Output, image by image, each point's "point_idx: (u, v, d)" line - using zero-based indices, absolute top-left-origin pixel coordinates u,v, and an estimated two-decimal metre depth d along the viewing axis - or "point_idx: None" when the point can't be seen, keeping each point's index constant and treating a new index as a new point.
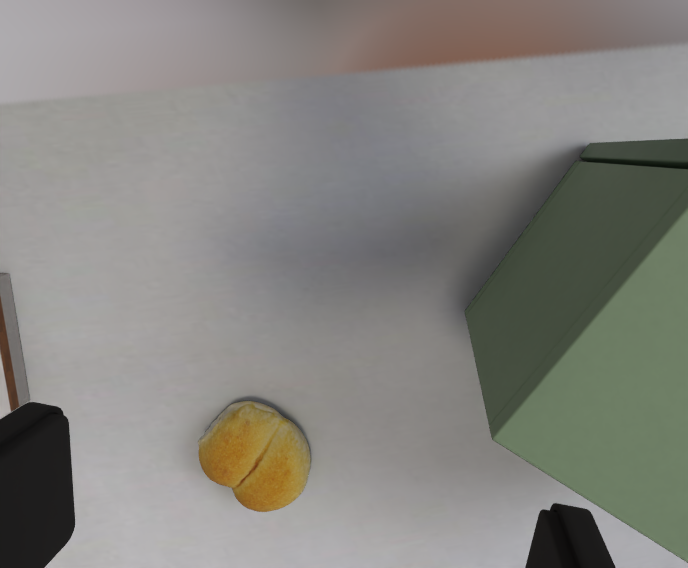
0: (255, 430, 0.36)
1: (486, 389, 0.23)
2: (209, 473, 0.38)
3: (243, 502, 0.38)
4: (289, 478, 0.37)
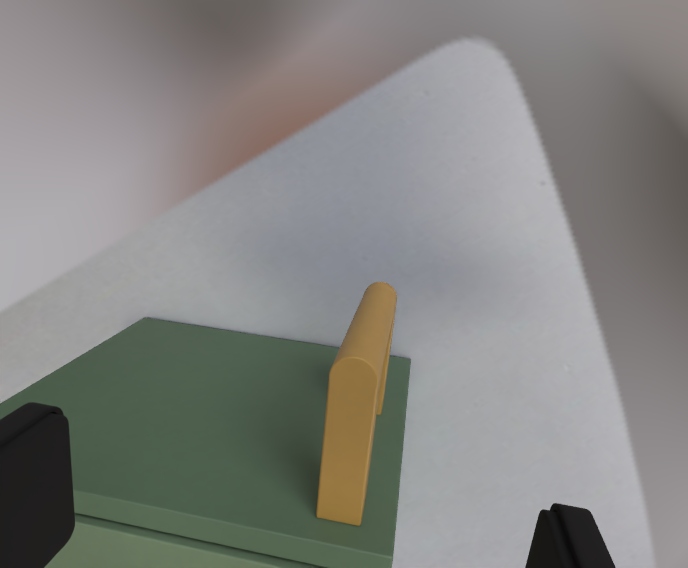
0: None
1: None
2: None
3: None
4: None
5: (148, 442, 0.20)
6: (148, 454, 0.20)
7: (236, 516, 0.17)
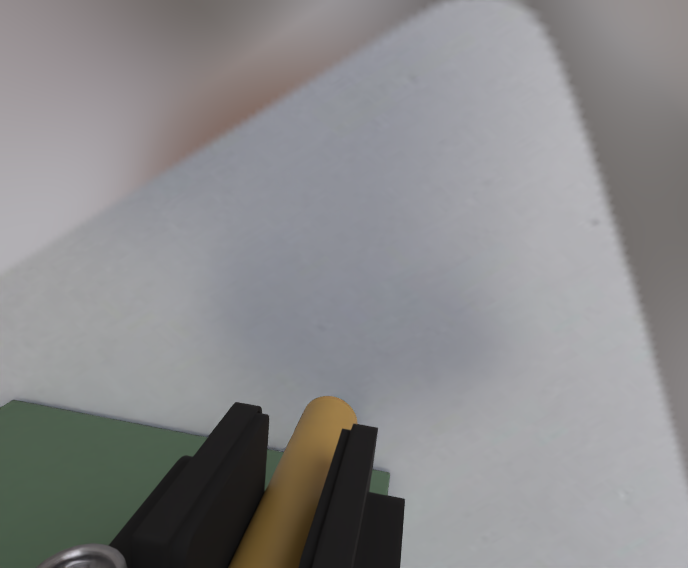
0: None
1: None
2: None
3: None
4: None
5: None
6: None
7: None
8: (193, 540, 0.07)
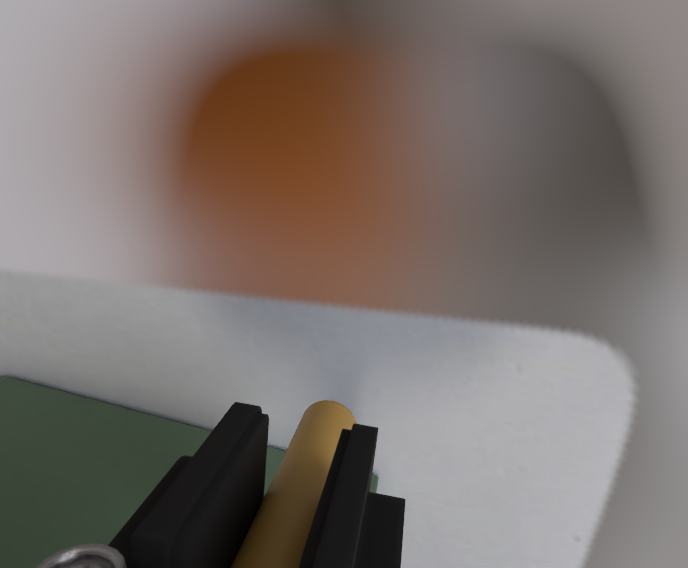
0: None
1: None
2: None
3: None
4: None
5: None
6: None
7: None
8: (193, 540, 0.07)
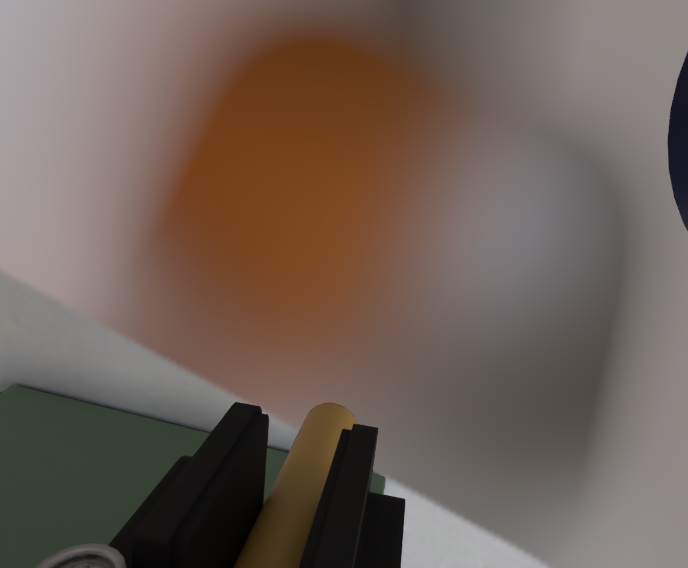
0: None
1: None
2: None
3: None
4: None
5: None
6: None
7: None
8: (193, 540, 0.07)
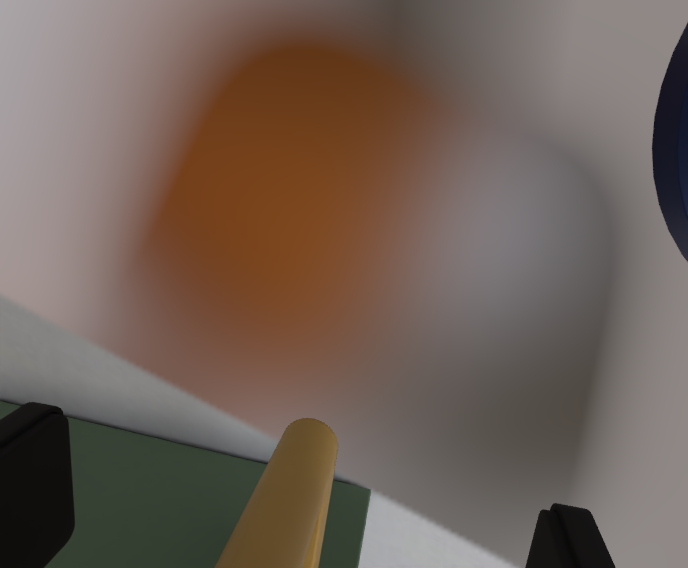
0: None
1: None
2: None
3: None
4: None
5: None
6: None
7: None
8: None
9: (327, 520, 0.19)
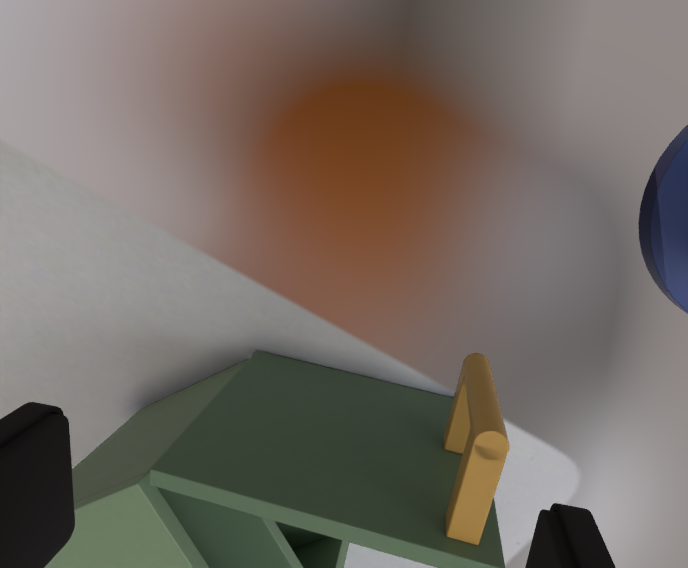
0: None
1: None
2: None
3: None
4: None
5: (308, 468, 0.27)
6: (312, 478, 0.26)
7: (392, 531, 0.24)
8: None
9: None
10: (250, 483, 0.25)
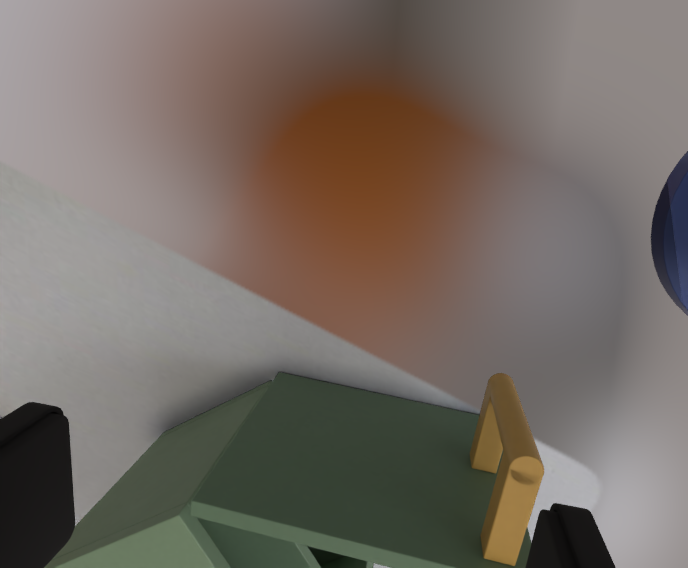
0: None
1: None
2: None
3: None
4: None
5: (343, 493, 0.28)
6: (348, 503, 0.27)
7: (430, 555, 0.24)
8: None
9: None
10: (289, 511, 0.26)
